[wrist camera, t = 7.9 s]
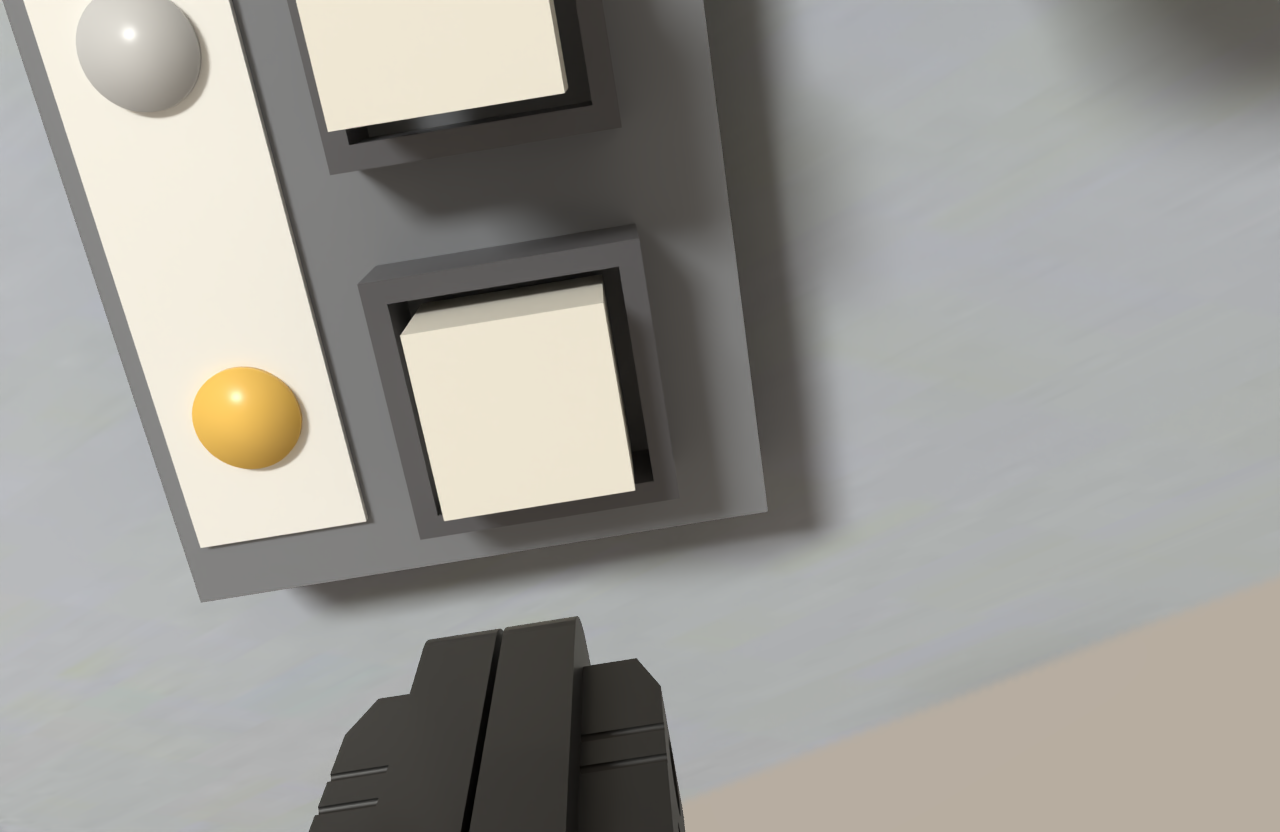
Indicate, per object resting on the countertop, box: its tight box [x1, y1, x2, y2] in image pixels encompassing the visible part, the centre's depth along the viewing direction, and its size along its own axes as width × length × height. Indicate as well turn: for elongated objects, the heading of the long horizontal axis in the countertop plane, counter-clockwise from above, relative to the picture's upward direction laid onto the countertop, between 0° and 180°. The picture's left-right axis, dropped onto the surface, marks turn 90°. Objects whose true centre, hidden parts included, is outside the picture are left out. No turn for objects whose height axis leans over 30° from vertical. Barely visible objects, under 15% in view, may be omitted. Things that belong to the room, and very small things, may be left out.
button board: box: [3, 0, 768, 602], centre depth 22 cm, size 14×25×5 cm, turn 9°
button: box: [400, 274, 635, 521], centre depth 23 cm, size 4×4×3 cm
